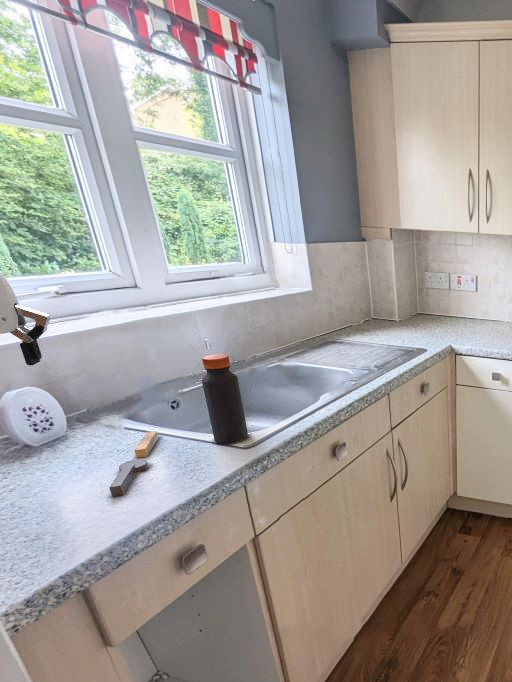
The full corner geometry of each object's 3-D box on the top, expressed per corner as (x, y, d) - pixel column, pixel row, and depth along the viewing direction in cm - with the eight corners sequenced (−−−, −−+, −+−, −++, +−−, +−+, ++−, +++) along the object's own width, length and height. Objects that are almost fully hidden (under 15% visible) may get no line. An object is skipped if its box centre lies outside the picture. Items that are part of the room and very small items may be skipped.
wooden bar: (147, 456, 97) (145, 448, 97) (136, 457, 96) (134, 450, 96) (158, 437, 106) (156, 430, 105) (148, 439, 105) (146, 432, 104)
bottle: (237, 430, 111) (222, 351, 104) (254, 436, 108) (240, 356, 102) (208, 440, 106) (189, 357, 99) (225, 447, 103) (208, 362, 96)
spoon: (132, 493, 84) (130, 484, 83) (102, 498, 82) (99, 488, 81) (151, 462, 95) (148, 454, 94) (124, 466, 93) (121, 457, 92)
